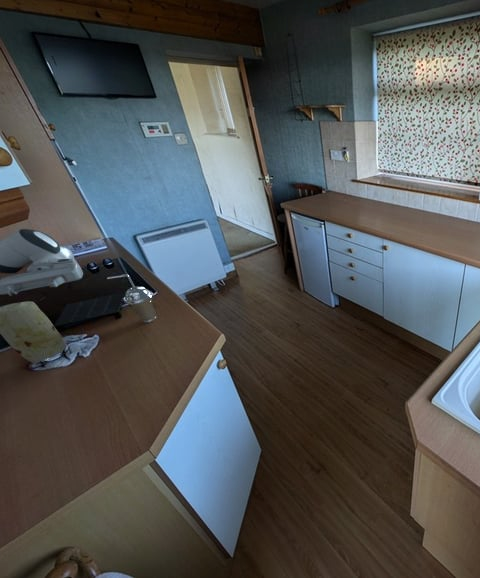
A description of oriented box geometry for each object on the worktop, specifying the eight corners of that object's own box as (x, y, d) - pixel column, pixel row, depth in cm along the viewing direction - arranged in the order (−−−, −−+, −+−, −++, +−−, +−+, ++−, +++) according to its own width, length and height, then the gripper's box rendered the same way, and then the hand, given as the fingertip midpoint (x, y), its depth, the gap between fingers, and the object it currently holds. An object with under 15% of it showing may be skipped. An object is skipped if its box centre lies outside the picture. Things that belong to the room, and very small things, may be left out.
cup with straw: (159, 323, 108) (136, 276, 97) (130, 328, 105) (103, 280, 95) (166, 310, 114) (144, 265, 104) (138, 315, 112) (114, 269, 102)
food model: (69, 345, 97) (32, 295, 87) (73, 354, 94) (35, 302, 83) (27, 361, 91) (-19, 309, 81) (30, 372, 87) (-18, 318, 77)
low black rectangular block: (57, 333, 103) (52, 326, 101) (71, 310, 114) (66, 304, 113) (121, 318, 110) (118, 311, 109) (128, 298, 122) (124, 291, 121)
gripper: (-1, 270, 97) (-23, 289, 87) (79, 257, 106) (68, 273, 96) (12, 287, 100) (-8, 307, 90) (89, 272, 109) (79, 289, 99)
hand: (32, 289), depth 93 cm, fingers open, 8 cm apart
